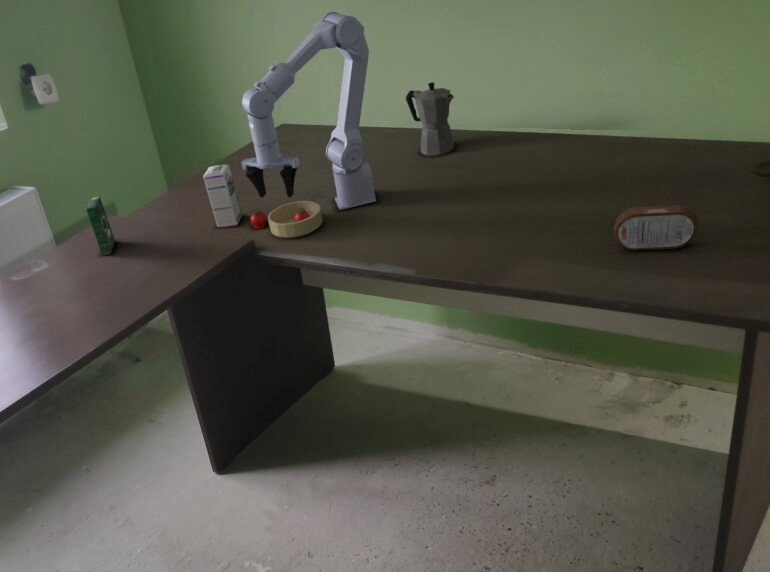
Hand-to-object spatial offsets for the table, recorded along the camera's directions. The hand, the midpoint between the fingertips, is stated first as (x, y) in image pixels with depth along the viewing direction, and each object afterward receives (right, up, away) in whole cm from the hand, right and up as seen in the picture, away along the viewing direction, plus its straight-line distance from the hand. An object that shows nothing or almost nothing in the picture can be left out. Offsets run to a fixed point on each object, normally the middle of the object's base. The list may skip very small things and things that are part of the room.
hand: (276, 195), depth 212 cm
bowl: (+5, -7, +3) cm, 9 cm away
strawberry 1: (-4, -6, +8) cm, 11 cm away
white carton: (-12, -3, +15) cm, 20 cm away
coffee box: (-45, -9, +18) cm, 49 cm away
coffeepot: (+43, +20, +25) cm, 54 cm away
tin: (+75, -22, -40) cm, 88 cm away
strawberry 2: (+7, -7, +2) cm, 10 cm away
